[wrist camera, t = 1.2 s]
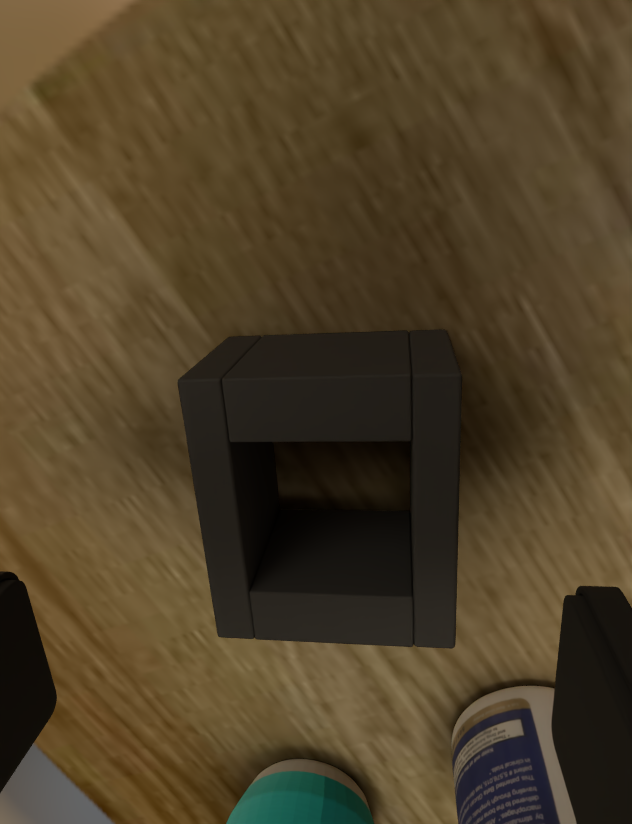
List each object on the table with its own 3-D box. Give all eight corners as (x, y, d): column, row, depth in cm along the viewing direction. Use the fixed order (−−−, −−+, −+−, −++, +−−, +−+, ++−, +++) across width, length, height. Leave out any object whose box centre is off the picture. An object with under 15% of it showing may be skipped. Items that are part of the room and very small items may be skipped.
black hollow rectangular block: (227, 336, 16) (175, 379, 12) (447, 328, 15) (462, 373, 11) (253, 548, 18) (217, 638, 15) (443, 553, 17) (455, 650, 14)
